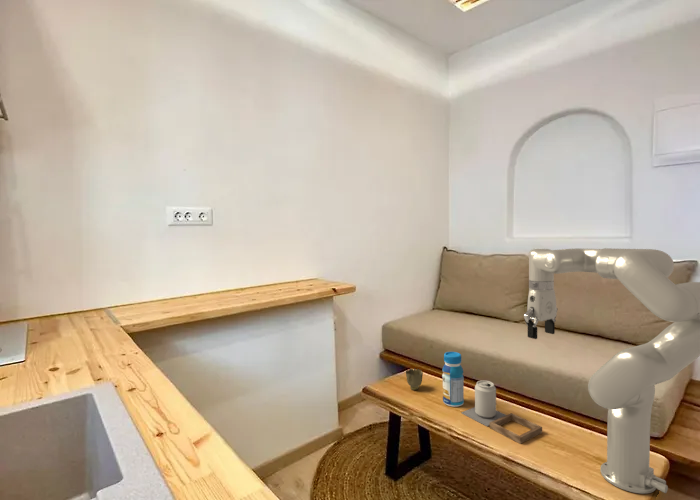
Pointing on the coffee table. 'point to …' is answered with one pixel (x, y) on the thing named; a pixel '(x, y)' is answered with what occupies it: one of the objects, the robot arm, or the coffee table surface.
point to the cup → (414, 378)
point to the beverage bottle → (453, 380)
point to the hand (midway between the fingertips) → (541, 335)
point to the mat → (484, 421)
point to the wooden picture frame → (520, 439)
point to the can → (485, 399)
